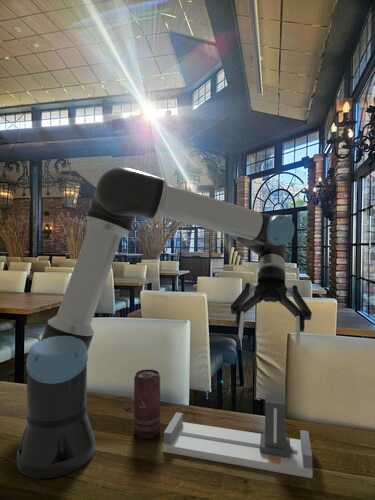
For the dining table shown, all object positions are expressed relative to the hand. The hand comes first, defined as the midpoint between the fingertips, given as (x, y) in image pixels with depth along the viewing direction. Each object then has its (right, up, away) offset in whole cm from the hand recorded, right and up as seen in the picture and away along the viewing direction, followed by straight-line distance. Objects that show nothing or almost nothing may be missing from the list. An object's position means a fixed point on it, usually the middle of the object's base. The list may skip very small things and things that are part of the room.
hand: (268, 339), depth 80 cm
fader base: (-9, -22, -9) cm, 25 cm away
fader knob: (-1, -20, -11) cm, 23 cm away
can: (-29, -22, -2) cm, 36 cm away
